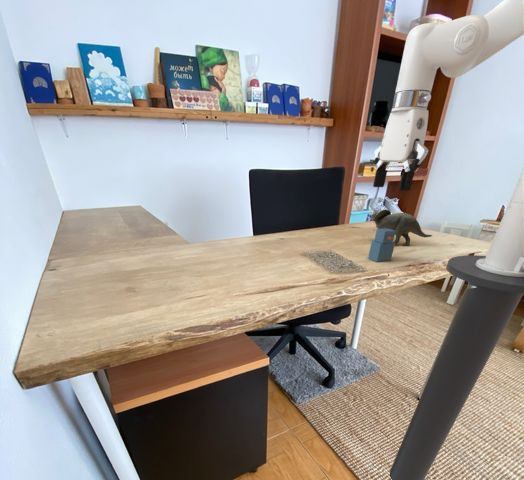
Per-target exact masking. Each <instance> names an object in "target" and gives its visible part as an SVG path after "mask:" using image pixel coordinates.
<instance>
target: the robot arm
mask: <svg viewBox="0 0 524 480" xmlns="http://www.w3.org/2000/svg"><path fill="white" fill-rule="evenodd" d="M522 36H524V0H502V1H501V2H500V3H498V4H497V5H496V6H495V7H494V8H492V9H491V10H490V11H489V12H487V13H486V14H485V15H484V16H483V15H481V14H468V15H465V16H462V17H458V18H456V19H453V20H448V21H445V22H440V23H439V22H426V23H422V24H418V25H416V26H414V27H413V28H412V29H411V30H410V31H409V32H408V34H407V36H406V39H405V43H404V48H403V53H402V58H401V63H400V68H399V73H398V77H397V83H396V87H395V93H394V97H393V102H392V106H391V111H390V113H389V116H388V119H387V122H386V125H385V129H384V132H383V136H382V140H381V145H379V146H378V147H377V148H376V149H374V164H375V167H374V170H375V175H374V180H373V183H372V184H373V185H372V187H373V188H384V186H385V183H386V179H387V174H388V169H387V168H388V166H389V165H390V164H391V163H402V164H403V168H404V171H402V173H401V176H400V180H399V184H398V191H400V192H408V191H410V190H411V187H412V185H413V181H414V176H415V173H417V172H418V170H419V168H420V167H421V166H422V165H423V163H424V162H423V161H424V160H425V159H426V157H427V155H428V153H429V148H428V147H426V146H425V142H426V141H425V140H426V136H427V130H428V124H429V123H428V122H429V110H428V105H429V102H430V101H431V99H432V94H431V93H432V89H433V86H434V81H435V78H436V75H437V70H438V69H439V68H440V71H441V73H442V74H443V75H444V76H445V77H447V78H449V79H450V78H452V79H454V78H455V79H456V78H460V77H461V76H463V75H466V74H467V73H468V72H470V71H471V70H474V69H475V68H476V67H478V66H479V65H481V64H482V63H484V62H485V61H487V60H489V59H490V58H491V57H493V56H494V55H496V54H497V53H499V52H500V51H502V50H504V49H505V48H507V47H508V46H509V45H510V44H512V43H513V42H515V41H516V40H518V39H519V38H521V37H522ZM485 256H486V258H484V259H479V260H477V262H476V264H475V265H476V266H477V267H478V268H479V269H481V270H484V271H487V272H490V273H494V274H498V275H504V276H511V277H524V164H523V166H522V168H521V172H520V175H519V178H518V180H517V182H516V186H515V188H514V191H513V192H512V195H511V198H510V200H509V201H508V204H507V207H506V209H505V211H504V213H503V216H502V218H501V220H500V223H499V226H498V228H497V230H496V232H495V235H494V237H493V239H492V242H491V243H490V246H489V249H488V251H487V253H486V255H485Z"/></svg>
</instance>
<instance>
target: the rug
mask: <svg viewBox="0 0 524 480" xmlns="http://www.w3.org/2000/svg"><path fill="white" fill-rule="evenodd" d="M302 254H303V255H304V256H305V255H306V256H308V257H310V258H312V260H313V261H314V262H316V263H317V264H319V265H320V264H322V266H323V267H324V268H328V270H329V272H331V273H334V272H336V273H339V272H340V273H341V272H345V271H349V272H350V271H351V270H352V271H354V270H356V271H363V270H364V269H366V270H368V269H367V267H365V266H364V265H359V264H357V263H356V262H354V261H352V260H351V259H348V258H347V257H346V258H345V257H344V256H342V255H341V254H339V253H336V251H334V250H333V249H331V250H330V249H327V251H326V250H321V249H319V250H312V251H303V252H302ZM332 256H333V258H332ZM325 259H329V261H328V260H325ZM335 259H336V260H335ZM324 261H325V264H324Z"/></svg>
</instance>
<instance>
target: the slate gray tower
mask: <svg viewBox="0 0 524 480" xmlns="http://www.w3.org/2000/svg"><path fill="white" fill-rule="evenodd" d="M395 232H396V231H394V230H391V229H387V228H385V229H378V228H376V231H375V236H374V240H371V243H370V248H369V252H368V258H367V259H369V260H371V261H373V262H376V263H380V262H389V261H392V257H393V254H394V249H395V243H394V242H395V240H394V239H395V237H396V235H395Z"/></svg>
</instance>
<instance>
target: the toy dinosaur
mask: <svg viewBox="0 0 524 480" xmlns="http://www.w3.org/2000/svg"><path fill="white" fill-rule="evenodd" d="M371 209H372V210H373V211H372V214H371V217H370V218H371V221H372V222H374V223H375V227H376V229H385V228H387V229H391V230H394V231H396V232H395V240H394V241H393V242H394V243H395V246H398V245H399V243H400V239H401V238H402V237H403V238H404V240H405V242H404V243H403V244H402V245H403V246H409V245H410V244H411V237H410V236H409V233H411V234H413V235H416V236H419V237H422V238H431V237H433V234H427V233H425V232H423V231H422V227H421V225H420V223H419V221H418V220H417V219H416V217H415V216H414V215H412V214H410V213H407V212H397V213H392V211H391V210H389V209H382V208H381V206H380V204H378V210H377V209H376V208H374V207H373V206H371ZM395 246H394V247H395Z"/></svg>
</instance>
